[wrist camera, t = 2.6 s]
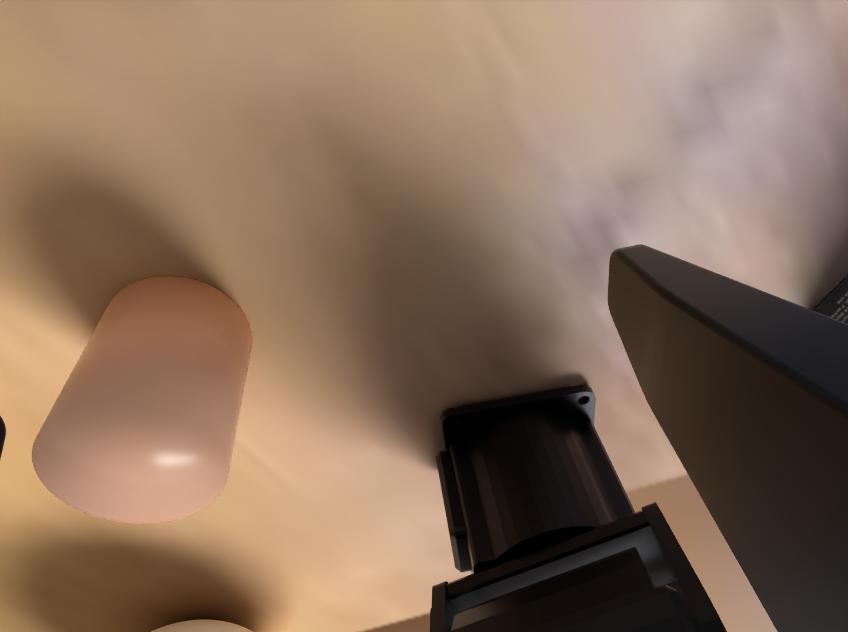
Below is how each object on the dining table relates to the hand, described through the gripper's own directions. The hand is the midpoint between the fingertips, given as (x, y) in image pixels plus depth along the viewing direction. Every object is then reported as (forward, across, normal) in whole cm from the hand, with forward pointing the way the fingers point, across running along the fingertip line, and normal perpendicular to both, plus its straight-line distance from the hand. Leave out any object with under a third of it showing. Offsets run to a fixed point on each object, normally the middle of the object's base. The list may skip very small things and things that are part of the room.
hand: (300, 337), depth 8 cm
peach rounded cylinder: (+11, +7, +7) cm, 15 cm away
